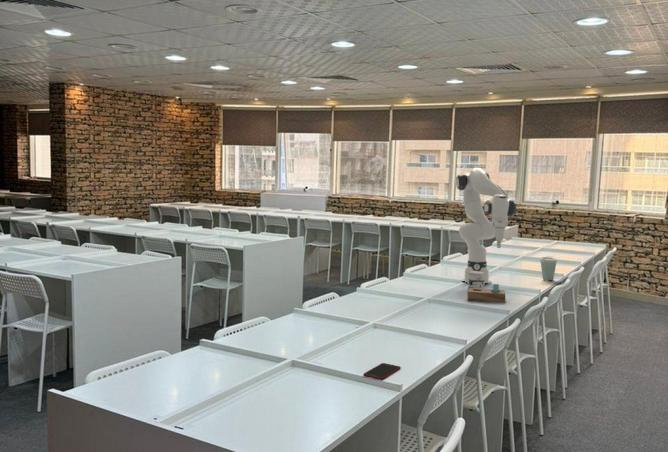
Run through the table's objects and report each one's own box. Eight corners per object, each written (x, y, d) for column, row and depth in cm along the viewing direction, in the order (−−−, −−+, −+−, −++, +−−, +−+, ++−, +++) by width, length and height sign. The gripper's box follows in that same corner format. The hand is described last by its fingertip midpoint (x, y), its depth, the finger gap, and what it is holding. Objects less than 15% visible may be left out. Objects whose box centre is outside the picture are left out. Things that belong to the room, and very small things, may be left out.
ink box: (467, 291, 342) (468, 271, 340) (469, 289, 346) (470, 270, 345) (481, 292, 338) (482, 273, 336) (483, 291, 342) (484, 271, 341)
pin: (492, 297, 320) (493, 283, 319) (498, 297, 319) (498, 283, 318) (492, 298, 317) (493, 284, 316) (498, 299, 316) (498, 284, 315)
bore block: (468, 296, 327) (468, 287, 327) (504, 298, 322) (504, 289, 322) (467, 300, 316) (467, 291, 315) (505, 303, 311) (505, 294, 310)
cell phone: (362, 376, 196) (362, 374, 196) (382, 365, 208) (382, 362, 208) (382, 381, 192) (382, 378, 192) (401, 369, 204) (401, 366, 204)
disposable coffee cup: (559, 281, 378) (560, 258, 377) (546, 282, 374) (547, 259, 373) (548, 278, 388) (549, 256, 387) (535, 279, 384) (536, 257, 383)
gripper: (493, 221, 337) (492, 244, 338) (494, 224, 317) (493, 249, 319) (504, 221, 335) (503, 244, 337) (505, 224, 315) (504, 249, 317)
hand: (498, 246), depth 327 cm, fingers open, 8 cm apart
